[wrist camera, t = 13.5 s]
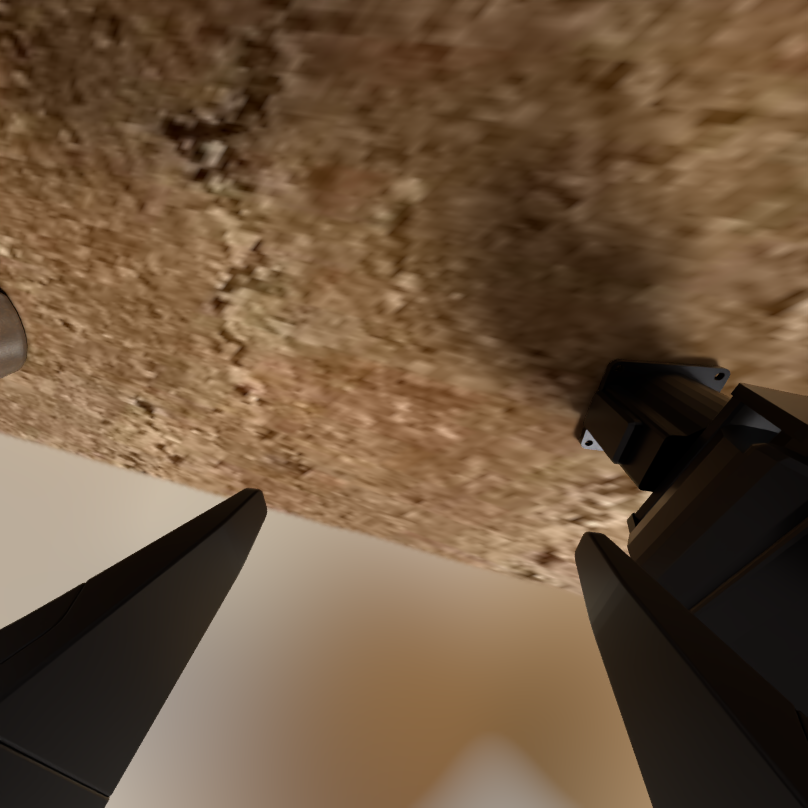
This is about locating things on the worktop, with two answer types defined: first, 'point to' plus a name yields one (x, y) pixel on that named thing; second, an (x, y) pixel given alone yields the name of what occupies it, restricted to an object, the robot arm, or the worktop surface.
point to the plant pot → (11, 339)
